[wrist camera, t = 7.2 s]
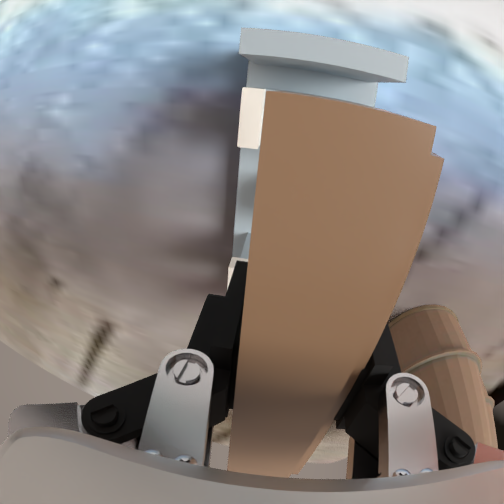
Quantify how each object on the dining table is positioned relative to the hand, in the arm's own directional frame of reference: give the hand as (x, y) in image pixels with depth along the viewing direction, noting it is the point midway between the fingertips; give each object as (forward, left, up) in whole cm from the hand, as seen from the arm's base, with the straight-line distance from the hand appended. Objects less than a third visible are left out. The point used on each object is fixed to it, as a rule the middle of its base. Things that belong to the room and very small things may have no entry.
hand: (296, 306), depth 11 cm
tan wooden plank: (0, 0, -1) cm, 1 cm away
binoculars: (+17, +19, -13) cm, 28 cm away
